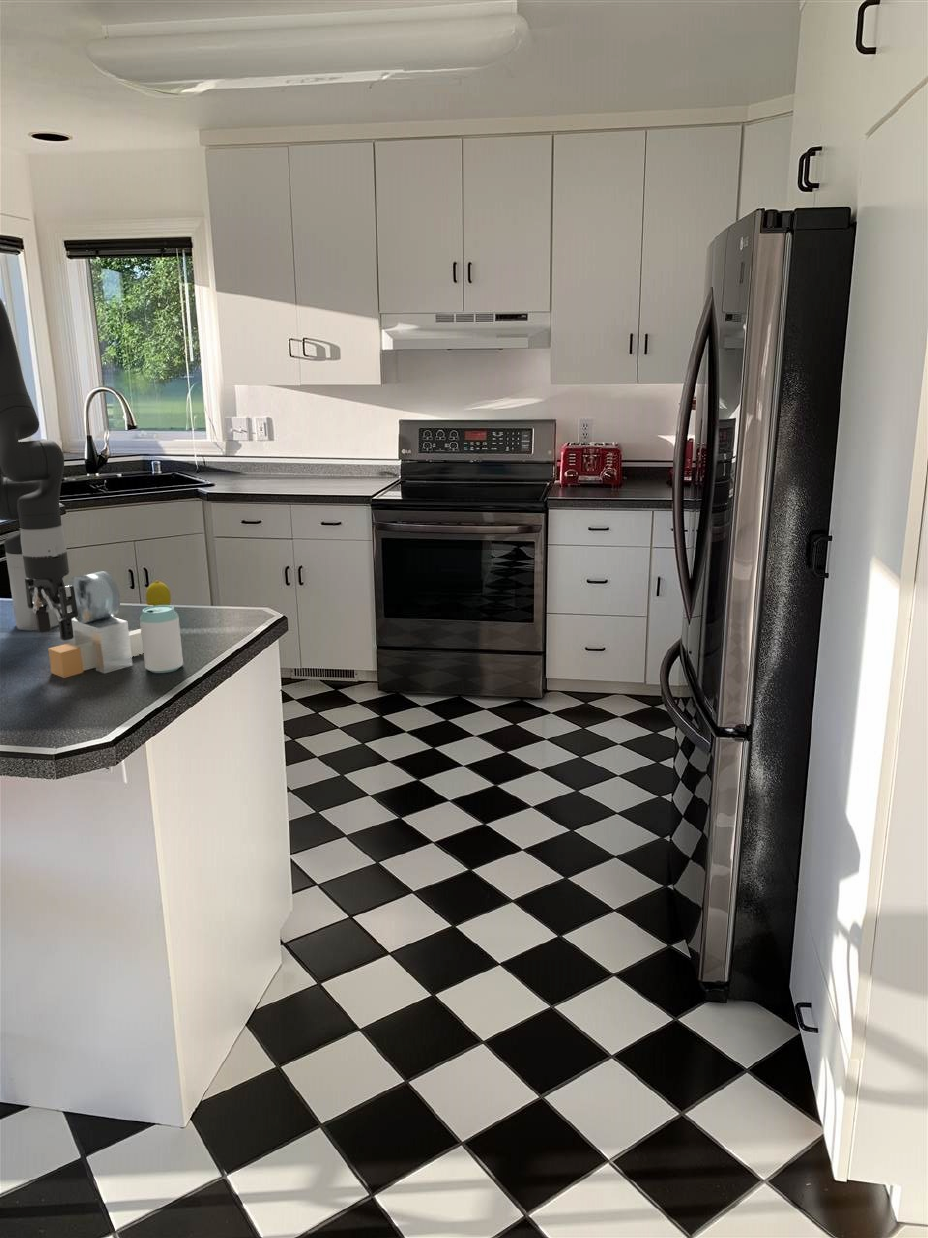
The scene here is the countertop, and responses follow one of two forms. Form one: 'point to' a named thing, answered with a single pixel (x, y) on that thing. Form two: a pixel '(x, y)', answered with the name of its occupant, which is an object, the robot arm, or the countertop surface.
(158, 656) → the can
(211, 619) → the countertop surface
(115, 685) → the countertop surface
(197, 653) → the countertop surface
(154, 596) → the lemon
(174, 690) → the countertop surface
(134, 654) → the plug
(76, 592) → the cylinder
